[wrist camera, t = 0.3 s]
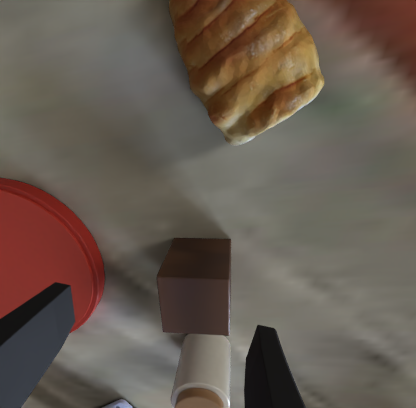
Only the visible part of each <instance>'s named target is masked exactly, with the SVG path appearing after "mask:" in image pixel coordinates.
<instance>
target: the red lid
mask: <svg viewBox="0 0 416 408" xmlns="http://www.w3.org/2000/svg"><path fill="white" fill-rule="evenodd" d="M104 281H105V273H104V265H103V261H102V257H101V254H100V251H99V249H98V247H97V244H96V242H95V241H94V239H93V237H92V235H91V233H90V232H89V231H88V229H87V228H86V227H85V225H84V224H83V223H82V222H81V220H80V219H79V218H78V217H77V216H76V215H75V214H74V213H73V212H72V211H71V210H70V209H69V208H68V207H66V206H65V205H64V204H63V203H61V202H60V201H59V200H57V199H56V198H54V197H53V196H51V195H49V194H48V193H46V192H44V191H43V190H40V189H38V188H36V187H34V186H32V185H29V184H26V183H23V182H20V181H16V180H11V179H5V178H0V319H1V318H2V317H4V316H5V315H7V314H8V313H10V312H11V311H13V310H14V309H16V308H17V307H19V306H20V305H22V304H23V303H25V302H26V301H28V300H29V299H31V298H32V297H34V296H35V295H37V294H38V293H40V292H41V291H43V290H44V289H46V288H47V287H49V286H50V285H52V284H53V283H55V282H58V283H63V284H67V285H71V292H72V299H73V307H74V314H75V323H74V325H73V327H72V329H71V331H70V333H71V332H73V331H74V330H76V329H78V328H79V327H80V326H81V325H83V324H84V323H85V322H86V321H87V319H88V318H89V317H90V316H91V314H92V313H93V311H94V310H95V308H96V306H97V305H98V303H99V301H100V299H101V296H102V294H103V289H104Z"/></svg>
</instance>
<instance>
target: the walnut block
mask: <svg viewBox="0 0 416 408" xmlns="http://www.w3.org/2000/svg"><path fill="white" fill-rule="evenodd" d="M157 285H158V294H159V302H160V311H161V320H162V328H163V332H168V333H186V334H205V335H223V336H229V335H230V302H231V239H202V238H174V239H173V241H172V244H171V246H170V248H169V250H168V253H167V255H166V257H165V259H164V261H163V264H162V266H161V268H160V270H159V273H158V275H157Z"/></svg>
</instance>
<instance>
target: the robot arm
mask: <svg viewBox="0 0 416 408" xmlns="http://www.w3.org/2000/svg"><path fill="white" fill-rule="evenodd" d="M74 323H75V314H74V307H73V299H72V292H71V285H67V284H63V283H58V282H55V283H53V284H52V285H50V286H49V287H47V288H46V289H44V290H43V291H41V292H40V293H38V294H37V295H35V296H34V297H32V298H31V299H29V300H28V301H26V302H25V303H23V304H22V305H20V306H19V307H17V308H16V309H14V310H13V311H11V312H10V313H8V314H7V315H5V316H4V317H2V318H1V319H0V408H21V407H22V405H23V404H24V402H25V401H26V399H27V398H28V397H29V395H30V394H31V392H32V391H33V389H34V388H35V386H36V385H37V383H38V382H39V380H40V379H41V377H42V376H43V375H44V373H45V372H46V370H47V369H48V367H49V366H50V364H51V363H52V361H53V360H54V358H55V357H56V355H57V354H58V352H59V351H60V349H61V348H62V346H63V344H64V342H65V340H66V338H67V337H68V335H69V333H70V331H71V329H72V327H73V325H74ZM244 395H245V408H306V407H305V405H304V402H303V400H302V398H301V395H300V393H299V391H298V388H297V386H296V383H295V381H294V379H293V376H292V374H291V371H290V369H289V366H288V363H287V361H286V358H285V355H284V353H283V350H282V347H281V344H280V341H279V338H278V335H277V332H276V330H275V329H274V328H271V327H266V326H261V325H257V328H256V331H255V334H254V337H253V340H252V343H251V346H250V349H249V352H248V355H247V357H246V369H245V386H244ZM102 408H133V407H132V406H131V405H130V404H129V403H128V402H127V401H125V400H123V399H120V400H118V401H115V402H113V403H111V404H109V405H107V406H105V407H102Z"/></svg>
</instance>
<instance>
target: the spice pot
mask: <svg viewBox="0 0 416 408" xmlns="http://www.w3.org/2000/svg"><path fill="white" fill-rule="evenodd" d="M230 375H231V346H230V343H229V341H228V339H227V338H226V337H225V336H223V335H205V334H188V335H187V336H186V337H185V338H184V341H183V345H182V349H181V354H180V358H179V363H178V367H177V372H176V377H175V381H174V386H173V390H172V395H171V403H172V406H173V408H230Z"/></svg>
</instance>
